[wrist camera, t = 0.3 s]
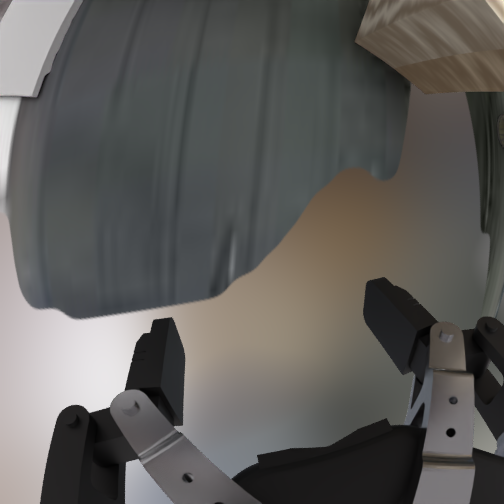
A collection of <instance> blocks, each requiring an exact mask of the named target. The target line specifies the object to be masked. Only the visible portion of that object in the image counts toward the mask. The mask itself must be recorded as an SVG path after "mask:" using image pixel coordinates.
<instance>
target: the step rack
mask: <svg viewBox="0 0 504 504" xmlns="http://www.w3.org/2000/svg"><path fill="white" fill-rule="evenodd" d="M355 43H357V44H359V45H360V46H362V47H363V48H365V49H366V50H368V51H369V52H371V53H372V54H374V55H375V56H377V57H378V58H380V59H381V60H383V61H384V62H385V63H387V64H388V65H390V66H391V67H392V68H394V69H395V70H396V71H398V72H399V73H400V74H402V75H403V76H404V77H405V78H407V79H408V80H409V81H410V82H412V83H413V84H414V85H415V86H416V87H418V88H419V89H420V90H421V91H422V92H423V93H425V94H435V93H449V92H473V91H501V92H504V0H369V3H368V6H367V9H366V12H365V15H364V17H363V20H362V23H361V26H360V28H359V31H358V34H357V37H356V39H355Z"/></svg>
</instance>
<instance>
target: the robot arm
mask: <svg viewBox="0 0 504 504" xmlns="http://www.w3.org/2000/svg"><path fill="white" fill-rule="evenodd" d="M363 315H364V319H365V322H366V324H367V326H368V327H369V328H370V330H371V331H372V332H373V334H374V335H375V336H376V338H377V339H378V341H379V342H380V344H381V345H382V346H383V348H384V349H385V351H386V352H387V353H388V355H389V356H390V358H391V359H392V360H393V362H394V363H395V365H396V366H397V368H398V369H399V371H400V372H401V373H402V374H403V375H404V374H407V373H409V372H411V371H413V372H414V374H415V375H414V377H413V382H412V389H411V395H410V401H409V406H408V412H407V416H406V419H405V422H404V424H403V425H390V424H389V422H388V420H387V418H386V419H384V420H381V421H379V422H376V423H373V424H371V425H368V426H365V427H363V428H360V429H357V430H356V431H354V432H353V433H351V434H349V435H348V436H346V437H344V438H343V439H341V440H339V441H338V442H336V443H335V444H332V445H330V446H327V447H316V448H290V449H286V450H281V451H277V452H271V453H266V454H260V455H257V457H258V462H259V463H256V464H254V465H252V466H250V467H248V468H246V469H244V470H243V471H241V472H240V473H238V474H237V475H236V476H234V477H233V478H232V479H230V478H229V477H228V476H227V475H226V474H225V473H223V472H222V471H221V470H220V469H219V468H218V467H217V466H215V465H214V464H213V463H212V462H211V461H210V460H209V459H208V458H207V457H206V456H205V455H204V454H202V452H200V451H199V450H198V449H197V448H196V447H195V446H194V445H193V444H192V443H191V442H190V441H189V440H188V439H187V438H186V437H185V436H184V435H183V434H182V433H181V432H180V433H179V432H178V431H177V430H176V429H175V428H174V426H182V425H183V398H184V374H185V353H184V348H183V345H182V342H181V339H180V336H179V334H178V331H177V328H176V325H175V322H174V320H173V318H172V317H171V318H164V319H155V320H153V323H152V327H151V331H150V333H144V334H143V335H142V336H141V337H140V339H139V340H138V341H137V343H136V346H135V350H134V354H133V358H132V362H131V366H130V370H129V374H128V378H127V383H126V387H125V391H124V392H122V393H120V394H118V395H117V396H116V397H115V398H114V399H113V401H112V402H111V405H110V407H109V408H106V409H102V410H99V411H95V412H92V413H89V412H88V411H87V410H86V409H85V408H84V407H83V406H80V405H71V406H69V407H67V408H65V409H64V410H62V412H61V413H60V414H59V416H58V418H57V421H56V425H55V428H54V432H53V436H52V441H51V445H50V449H49V454H48V458H47V463H46V469H45V474H44V480H43V486H42V493H41V502H40V504H125V470H126V462H128V461H132V460H136V459H139V460H140V462H141V464H142V465H143V467H144V468H145V469H146V471H147V472H148V473H149V474H150V476H151V477H152V478H153V479H154V481H155V482H156V483H157V484H158V486H159V487H160V488H161V489H162V490H163V492H165V494H166V495H167V496H168V497H169V498H170V499H171V501H172V502H173V503H174V504H504V383H503V386H502V387H501V385H500V384H499V383H498V381H497V380H496V379H495V377H494V376H493V375H492V374H491V372H490V371H489V370H488V369H487V368H488V366H489V364H490V362H491V361H492V362H493V363H494V364H495V366H496V367H497V368H498V369H499V371H500V372H501V373H502V375H503V377H504V325H503V324H502V323H501V322H500V321H498V320H497V319H495V318H492V317H482V318H480V319H479V320H478V322H477V324H476V327H475V329H469V330H460V328H459V327H458V326H456V325H455V324H453V323H450V322H438V321H437V320H436V319H435V318H434V317H433V316H432V315H431V314H430V313H429V312H428V311H427V310H426V309H425V308H424V307H423V306H422V305H421V304H419V302H418V301H417V300H416V299H413V297H412V296H411V295H410V294H409V293H408V292H407V291H406V290H404V289H402V288H400V287H398V286H393V284H391V283H390V282H389V281H388V280H387V279H386V278H385V277H382V278H378V279H374V280H370V281H368V282H367V283H366V290H365V300H364V308H363ZM474 405H475V407H476V408H477V410H478V411H479V413H480V414H481V416H482V418H483V419H484V421H485V422H486V424H487V426H488V427H489V429H490V431H491V432H492V434H493V436H494V437H495V439H496V441H497V450H496V451H495V454H491V453H489V452H486V451H482V450H479V449H476V448H473V434H474Z"/></svg>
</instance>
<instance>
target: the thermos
mask: <svg viewBox="0 0 504 504" xmlns="http://www.w3.org/2000/svg"><path fill="white" fill-rule="evenodd" d="M497 134H498V138H499V141H500V144H501V145H502V147H503V148H504V115H500V116H499V118H498V121H497Z"/></svg>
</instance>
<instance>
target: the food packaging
mask: <svg viewBox="0 0 504 504" xmlns="http://www.w3.org/2000/svg"><path fill="white" fill-rule="evenodd" d="M82 2H83V0H13V1H12V3H11V4H10V6H9V8H8V10H7V11H6V13H5V15H4V17H3V19H2V21H1V23H0V96H23V97H37V96H38V93H39V90H40V88H41V85H42V82H43V79H44V76H45V75H46V74H47V73H49V72H50V71H51V68H52V64H53V61H54V58H55V56H56V53H57V52H58V51H59V48H60V46H61V44H62V41H63V39H64V36H65V34H66V33H67V31H68V29H69V26H70V24H71V21H72V19H73V18H74V17H75V14H76V13H77V11H78V9H79V7H80V5H81V4H82Z"/></svg>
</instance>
